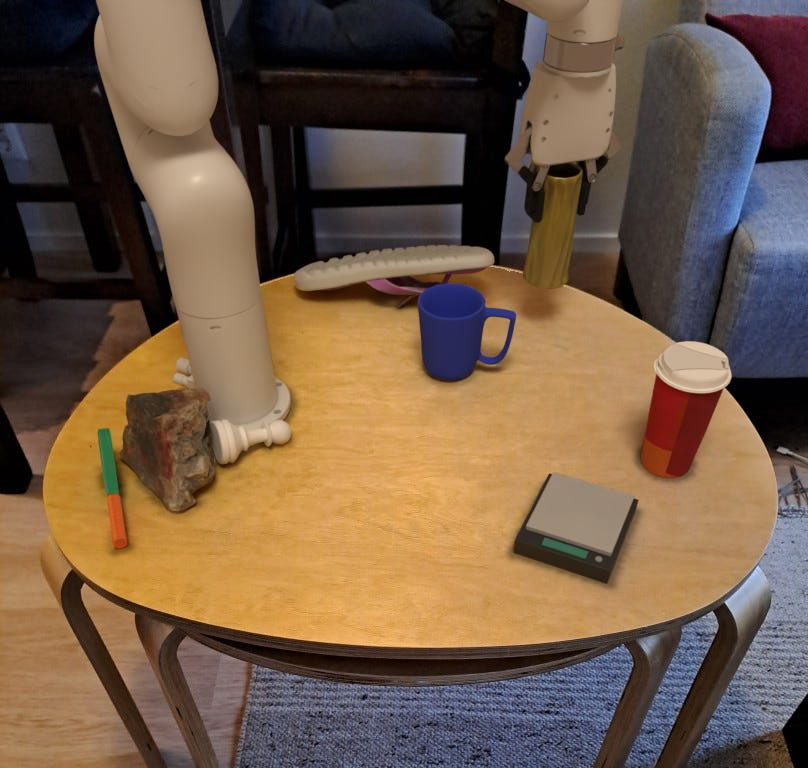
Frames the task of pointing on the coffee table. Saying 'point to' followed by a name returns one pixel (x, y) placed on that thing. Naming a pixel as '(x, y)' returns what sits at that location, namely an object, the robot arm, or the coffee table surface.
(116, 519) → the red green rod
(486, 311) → the mug
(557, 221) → the vase
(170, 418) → the rock
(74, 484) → the coffee table surface
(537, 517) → the scale
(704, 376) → the paper cup
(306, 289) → the sandal
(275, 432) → the chess pawn
